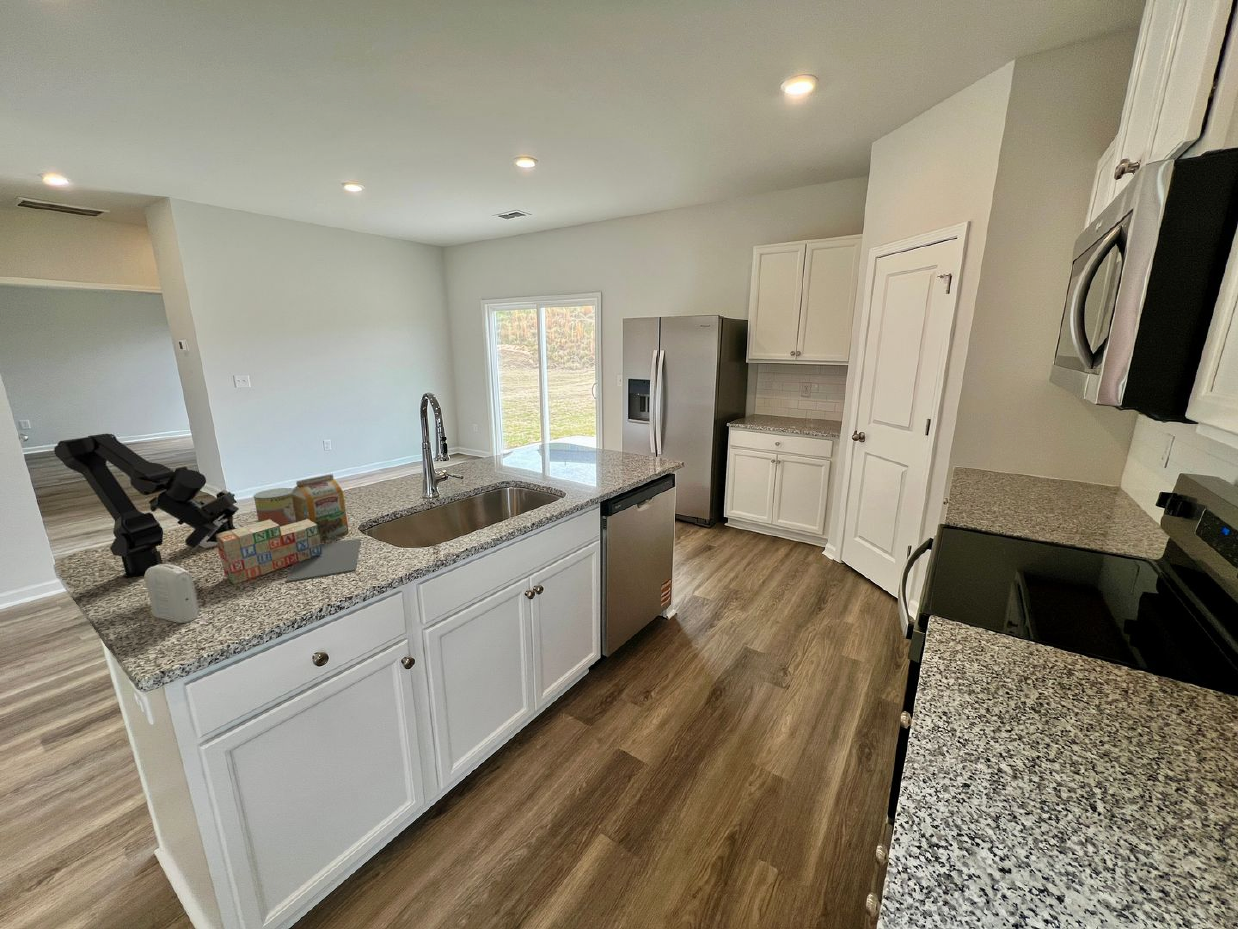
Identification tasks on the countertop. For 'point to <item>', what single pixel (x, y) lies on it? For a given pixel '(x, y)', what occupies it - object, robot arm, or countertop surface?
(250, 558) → the stack of blocks
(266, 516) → the canned food
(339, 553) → the mat
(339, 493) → the milk carton
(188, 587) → the photo printer
